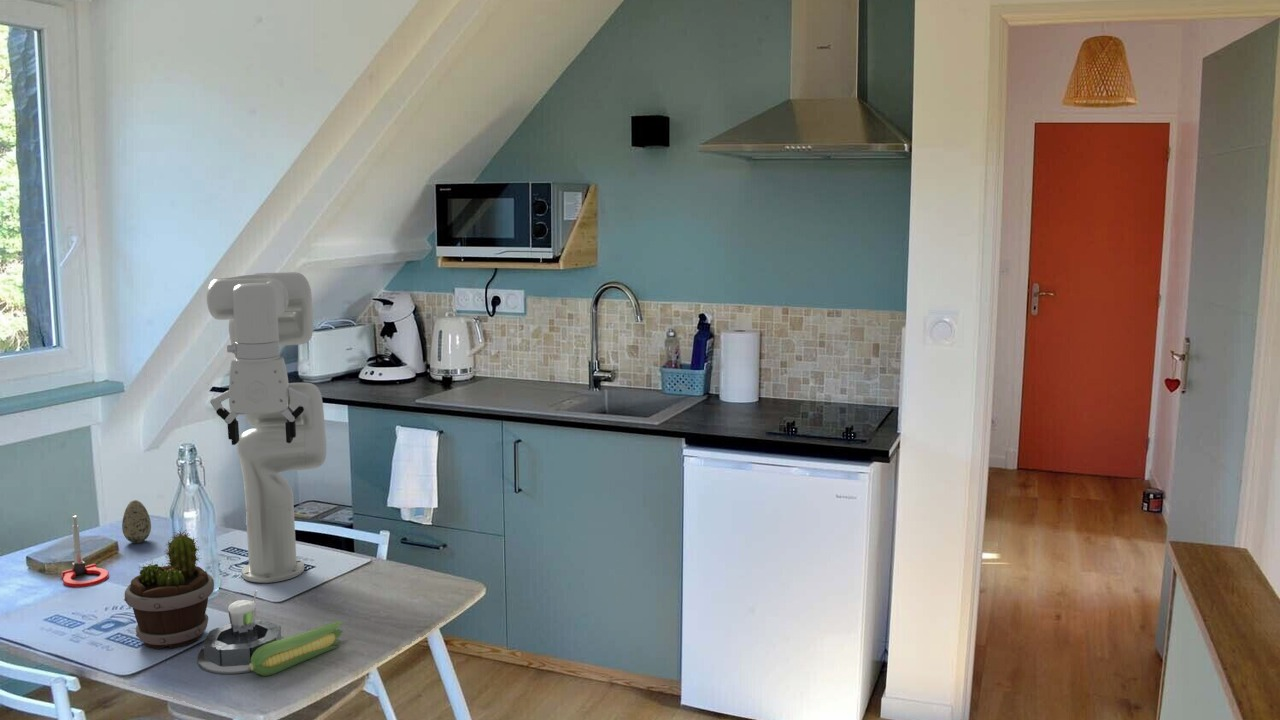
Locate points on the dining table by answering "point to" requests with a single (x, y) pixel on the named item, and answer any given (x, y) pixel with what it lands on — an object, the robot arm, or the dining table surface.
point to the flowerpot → (171, 597)
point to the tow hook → (81, 565)
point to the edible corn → (294, 649)
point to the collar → (234, 648)
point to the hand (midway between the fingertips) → (262, 442)
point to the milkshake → (243, 620)
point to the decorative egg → (136, 522)
